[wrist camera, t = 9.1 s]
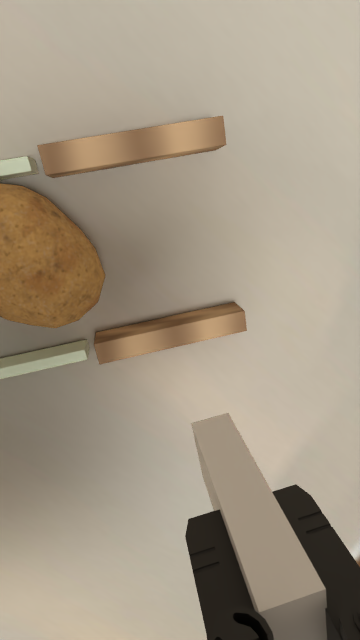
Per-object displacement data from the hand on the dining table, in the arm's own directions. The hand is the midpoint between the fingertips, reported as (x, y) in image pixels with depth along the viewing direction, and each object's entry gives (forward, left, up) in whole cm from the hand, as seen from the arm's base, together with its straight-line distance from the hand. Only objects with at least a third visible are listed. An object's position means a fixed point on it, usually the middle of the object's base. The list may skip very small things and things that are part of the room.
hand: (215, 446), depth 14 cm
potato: (-10, +7, -21) cm, 25 cm away
